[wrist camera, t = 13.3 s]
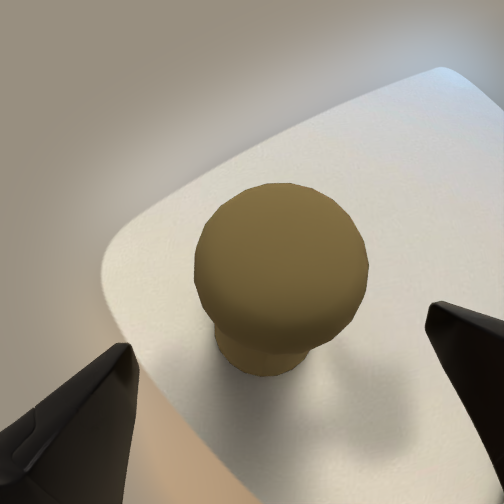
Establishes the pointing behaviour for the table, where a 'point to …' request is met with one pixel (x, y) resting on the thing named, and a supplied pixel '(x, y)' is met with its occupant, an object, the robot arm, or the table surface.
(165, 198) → the table surface
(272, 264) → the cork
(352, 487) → the table surface
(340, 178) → the table surface
